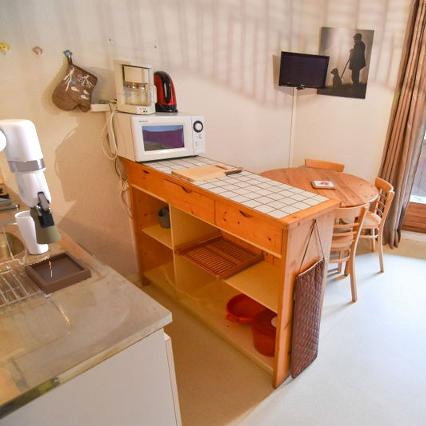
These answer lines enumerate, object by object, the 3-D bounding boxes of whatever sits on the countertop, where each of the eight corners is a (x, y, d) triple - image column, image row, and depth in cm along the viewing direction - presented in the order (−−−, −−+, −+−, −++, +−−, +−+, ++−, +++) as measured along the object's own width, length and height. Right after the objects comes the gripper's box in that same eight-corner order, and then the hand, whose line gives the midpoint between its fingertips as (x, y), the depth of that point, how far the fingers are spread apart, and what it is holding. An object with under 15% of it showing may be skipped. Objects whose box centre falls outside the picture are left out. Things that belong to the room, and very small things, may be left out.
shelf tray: (92, 277, 104) (90, 269, 102) (46, 294, 94) (44, 286, 93) (69, 257, 113) (67, 250, 111) (25, 271, 103) (23, 264, 102)
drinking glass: (50, 245, 119) (39, 208, 113) (52, 252, 115) (41, 214, 109) (26, 250, 115) (13, 212, 109) (27, 258, 110) (14, 219, 104)
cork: (38, 246, 94) (28, 212, 90) (34, 239, 98) (24, 206, 93) (63, 240, 98) (54, 207, 94) (59, 233, 102) (50, 202, 98)
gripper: (0, 161, 90) (18, 219, 97) (20, 174, 81) (38, 236, 89) (33, 157, 96) (48, 212, 103) (55, 169, 87) (70, 228, 94)
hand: (44, 223), depth 96 cm, fingers closed on cork, 5 cm apart
